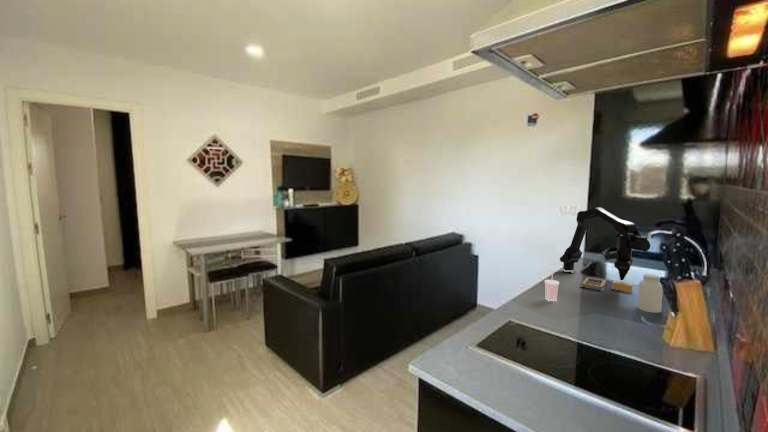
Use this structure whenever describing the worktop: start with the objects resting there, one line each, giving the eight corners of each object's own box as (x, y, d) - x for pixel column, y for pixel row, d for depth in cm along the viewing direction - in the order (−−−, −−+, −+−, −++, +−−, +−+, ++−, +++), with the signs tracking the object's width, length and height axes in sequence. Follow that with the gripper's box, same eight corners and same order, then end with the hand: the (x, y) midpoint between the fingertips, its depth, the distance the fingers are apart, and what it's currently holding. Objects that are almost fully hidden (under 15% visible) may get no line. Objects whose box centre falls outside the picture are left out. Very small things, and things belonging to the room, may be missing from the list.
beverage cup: (540, 299, 154) (542, 269, 152) (550, 297, 156) (551, 268, 155) (551, 303, 148) (553, 273, 147) (561, 301, 151) (563, 271, 149)
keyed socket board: (585, 280, 183) (585, 276, 182) (607, 284, 176) (607, 280, 176) (580, 287, 171) (580, 283, 171) (602, 291, 164) (603, 287, 164)
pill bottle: (639, 305, 146) (642, 272, 145) (663, 310, 140) (666, 276, 139) (634, 309, 141) (637, 275, 140) (658, 315, 135) (661, 279, 134)
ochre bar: (611, 290, 167) (612, 282, 167) (612, 288, 170) (613, 280, 170) (631, 293, 162) (632, 285, 162) (632, 291, 165) (632, 283, 165)
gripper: (608, 243, 177) (606, 271, 178) (603, 248, 162) (600, 279, 164) (634, 245, 169) (631, 275, 171) (631, 251, 155) (628, 283, 157)
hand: (622, 278), depth 166 cm, fingers open, 9 cm apart
